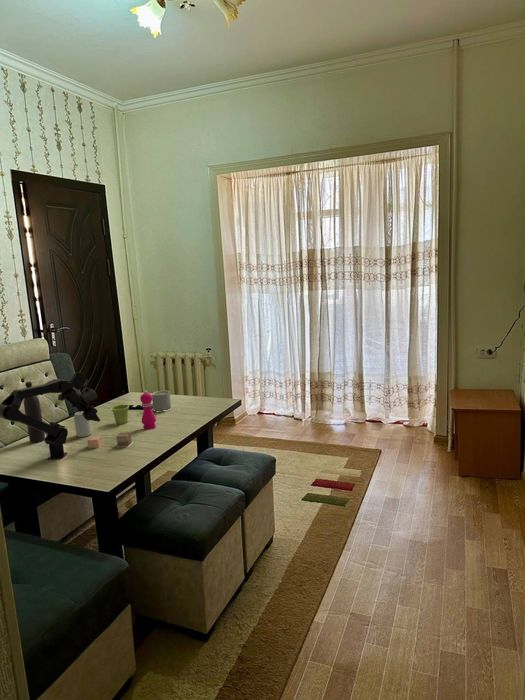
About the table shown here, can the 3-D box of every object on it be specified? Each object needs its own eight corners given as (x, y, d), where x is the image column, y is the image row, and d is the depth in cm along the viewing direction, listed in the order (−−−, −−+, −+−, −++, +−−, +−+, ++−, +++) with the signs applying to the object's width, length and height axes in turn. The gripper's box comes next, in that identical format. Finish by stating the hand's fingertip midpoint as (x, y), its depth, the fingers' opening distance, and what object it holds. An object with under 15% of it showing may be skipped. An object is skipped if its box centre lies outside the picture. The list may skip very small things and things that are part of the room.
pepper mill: (142, 431, 247) (138, 393, 244) (142, 427, 254) (137, 389, 251) (157, 429, 249) (153, 391, 245) (156, 425, 256) (152, 387, 252)
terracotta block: (99, 450, 226) (97, 439, 225) (88, 450, 226) (87, 440, 225) (103, 446, 231) (102, 435, 230) (93, 446, 231) (91, 436, 230)
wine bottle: (48, 438, 248) (39, 380, 242) (38, 443, 241) (29, 383, 236) (36, 437, 250) (27, 380, 244) (26, 442, 243) (17, 384, 238)
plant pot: (132, 423, 262) (130, 407, 261) (113, 426, 259) (111, 410, 257) (129, 418, 271) (128, 403, 269) (112, 421, 267) (110, 406, 266)
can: (87, 437, 244) (83, 414, 242) (73, 437, 245) (70, 414, 243) (95, 432, 251) (92, 410, 249) (81, 432, 253) (78, 410, 251)
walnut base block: (128, 446, 224) (127, 435, 224) (117, 446, 225) (116, 436, 224) (132, 442, 229) (130, 432, 228) (121, 442, 230) (120, 432, 229)
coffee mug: (174, 407, 287) (172, 390, 285) (166, 412, 277) (164, 395, 276) (154, 406, 291) (152, 390, 289) (145, 411, 282) (143, 395, 280)
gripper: (94, 392, 221) (116, 412, 231) (79, 378, 235) (100, 397, 245) (76, 411, 218) (98, 430, 228) (62, 395, 232) (84, 414, 242)
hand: (95, 417), depth 236 cm, fingers open, 9 cm apart
